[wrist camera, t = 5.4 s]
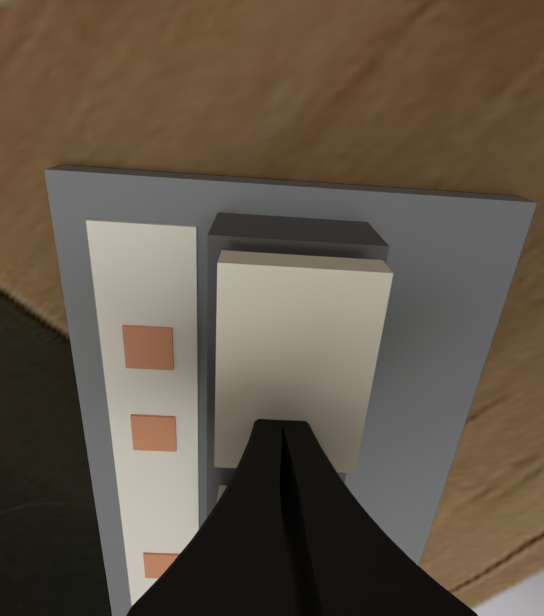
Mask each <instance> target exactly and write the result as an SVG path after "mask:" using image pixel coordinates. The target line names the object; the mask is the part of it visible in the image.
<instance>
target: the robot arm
mask: <svg viewBox="0 0 544 616" xmlns="http://www.w3.org/2000/svg"><path fill="white" fill-rule="evenodd" d="M126 616H478V615H477V614H476V613H475V612H474V611H473V610H471V609H470V608H469V607H468V606H466V605H465V604H464V603H463V602H461V601H460V600H459V599H457V598H456V597H455V596H454V595H452V594H451V593H450V592H449V591H447V590H446V589H445V588H444V587H442V586H441V585H440V584H438V583H437V582H436V581H435V580H434V579H433V578H431V577H430V576H429V575H428V574H427V573H426V572H425V571H424V570H422V569H421V568H420V567H419V566H418V565H417V564H416V563H415V562H414V561H413V560H411V559H410V558H409V557H408V556H407V555H406V554H405V553H404V552H403V551H402V550H401V549H400V548H399V547H398V546H397V545H396V544H395V543H394V542H393V541H392V540H391V539H390V538H389V537H388V536H387V535H386V533H385V532H384V531H383V530H382V529H381V528H380V527H379V526H378V525H377V523H376V522H375V521H374V520H373V519H372V518H371V517H370V515H369V514H368V513H367V512H366V511H365V509H364V508H363V507H362V506H361V505H360V503H359V502H358V501H357V499H356V498H355V497H354V496H353V494H352V493H351V492H350V490H349V489H348V487H347V486H346V485H345V483H344V482H343V480H342V479H341V478H340V476H339V475H338V473H337V472H336V470H335V469H334V467H333V465H332V464H331V462H330V461H329V459H328V457H327V456H326V454H325V452H324V451H323V449H322V447H321V446H320V444H319V442H318V440H317V438H316V437H315V435H314V433H313V431H312V429H311V427H310V425H309V424H308V423H307V422H306V421H294V420H270V419H258V420H256V421H255V422H254V425H253V429H252V432H251V435H250V438H249V441H248V443H247V445H246V448H245V450H244V453H243V455H242V457H241V460H240V462H239V464H238V466H237V468H236V470H235V472H234V474H233V476H232V478H231V480H230V481H229V483H228V485H227V487H226V489H225V490H224V492H223V494H222V496H221V497H220V499H219V500H218V502H217V504H216V505H215V507H214V508H213V510H212V511H211V513H210V514H209V516H208V517H207V519H206V520H205V522H204V523H203V524H202V526H201V527H200V529H199V530H198V531H197V533H196V534H195V536H194V537H193V538H192V539H191V541H190V542H189V543H188V545H187V546H186V547H185V548H184V549H183V551H182V552H181V553H180V554H179V555H178V557H177V558H176V559H175V560H174V561H173V563H172V564H171V565H170V566H169V567H168V569H167V570H166V571H165V572H164V573H163V574H162V575H161V576H160V578H159V579H158V580H157V581H156V582H155V583H154V584H153V585H152V586H151V587H150V588H149V589H148V590H147V591H146V592H145V593H144V594H143V595H142V596H141V597H140V598H139V599H138V600H137V601H136V603H135V604H134V605H133V606H132V607H131V608H130V610H129V612H128V614H127V615H126Z"/></svg>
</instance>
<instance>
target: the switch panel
mask: <svg viewBox="0 0 544 616" xmlns="http://www.w3.org/2000/svg"><path fill="white" fill-rule="evenodd" d="M44 172H45V179H46V185H47V192H48V198H49V205H50V211H51V218H52V224H53V231H54V238H55V244H56V251H57V257H58V264H59V270H60V277H61V283H62V290H63V296H64V303H65V309H66V316H67V323H68V329H69V336H70V342H71V349H72V355H73V362H74V368H75V375H76V381H77V388H78V395H79V401H80V408H81V414H82V421H83V427H84V434H85V440H86V447H87V453H88V460H89V466H90V473H91V480H92V486H93V493H94V499H95V506H96V512H97V519H98V525H99V532H100V538H101V545H102V552H103V558H104V565H105V571H106V578H107V584H108V591H109V597H110V604H111V610H112V616H126V615H127V614H128V612H129V610H130V608H131V607H132V606H133V605H134V604H135V603H136V601H137V600H138V599H139V598H140V597H141V596H142V595H143V594H144V593H145V592H146V591H147V590H148V589H149V588H150V587H151V586H152V585H153V584H154V583H155V582H156V581H157V580H158V579H159V578H160V576H161V575H162V574H163V573H164V572H165V571H166V570H167V569H168V567H169V566H170V565H171V564H172V563H173V561H174V560H175V559H176V558H177V557H178V555H179V554H180V553H181V552H182V551H183V549H184V548H185V547H186V546H187V545H188V543H189V542H190V541H191V539H192V538H193V537H194V536H195V534H196V533H197V531H198V530H199V529H200V527H201V526H202V524H203V523H204V522H205V520H206V519H207V517H208V516H209V514H210V513H211V511H212V510H213V508H214V507H215V505H216V503H217V497H218V490H219V485H224V486H227V485H228V483H229V481H230V480H231V478H232V476H233V474H234V472H235V470H236V468H222V467H214V437H215V375H216V312H217V262H218V259H219V256H220V253H221V250H226V251H242V252H258V253H275V254H291V255H307V256H324V257H340V258H356V259H373V260H383V261H384V263H385V264H386V265H387V266H388V267H389V269H390V270H391V271H392V272H393V278H392V283H391V289H390V294H389V299H388V304H387V310H386V315H385V320H384V325H383V330H382V336H381V341H380V346H379V351H378V357H377V362H376V367H375V372H374V377H373V383H372V388H371V393H370V398H369V404H368V409H367V414H366V419H365V424H364V430H363V435H362V440H361V445H360V450H359V456H358V461H357V466H356V471H355V473H342V472H337V473H338V475H339V476H340V478H341V479H342V480H343V482H344V483H345V485H346V486H347V487H348V489H349V490H350V492H351V493H352V494H353V496H354V497H355V498H356V499H357V501H358V502H359V503H360V505H361V506H362V507H363V508H364V509H365V511H366V512H367V513H368V514H369V515H370V517H371V518H372V519H373V520H374V521H375V522H376V523H377V525H378V526H379V527H380V528H381V529H382V530H383V531H384V532H385V533H386V535H387V536H388V537H389V538H390V539H391V540H392V541H393V542H394V543H395V544H396V545H397V546H398V547H399V548H400V549H401V550H402V551H403V552H404V553H405V554H406V555H407V556H408V557H409V558H410V559H411V560H413V561H414V562H415V563H416V564H417V565H419V562H420V559H421V556H422V553H423V550H424V547H425V544H426V541H427V538H428V535H429V532H430V529H431V526H432V522H433V519H434V516H435V513H436V510H437V507H438V504H439V501H440V498H441V495H442V492H443V489H444V486H445V483H446V480H447V477H448V474H449V471H450V468H451V464H452V461H453V458H454V455H455V452H456V449H457V446H458V443H459V440H460V437H461V434H462V431H463V428H464V425H465V422H466V419H467V416H468V413H469V410H470V407H471V403H472V400H473V397H474V394H475V391H476V388H477V385H478V382H479V379H480V376H481V373H482V370H483V367H484V364H485V361H486V358H487V355H488V352H489V349H490V345H491V342H492V339H493V336H494V333H495V330H496V327H497V324H498V321H499V318H500V315H501V312H502V309H503V306H504V303H505V300H506V297H507V294H508V291H509V288H510V284H511V281H512V278H513V275H514V272H515V269H516V266H517V263H518V260H519V257H520V254H521V251H522V248H523V245H524V242H525V239H526V236H527V233H528V230H529V226H530V223H531V220H532V217H533V214H534V211H535V208H536V205H537V202H534V201H531V200H528V199H525V198H522V197H520V196H512V195H497V194H482V193H468V192H453V191H438V190H424V189H409V188H394V187H379V186H365V185H350V184H335V183H321V182H306V181H291V180H276V179H262V178H247V177H232V176H217V175H203V174H188V173H173V172H159V171H144V170H129V169H114V168H100V167H85V166H70V165H58V166H55V167H51V168H47V169H44Z"/></svg>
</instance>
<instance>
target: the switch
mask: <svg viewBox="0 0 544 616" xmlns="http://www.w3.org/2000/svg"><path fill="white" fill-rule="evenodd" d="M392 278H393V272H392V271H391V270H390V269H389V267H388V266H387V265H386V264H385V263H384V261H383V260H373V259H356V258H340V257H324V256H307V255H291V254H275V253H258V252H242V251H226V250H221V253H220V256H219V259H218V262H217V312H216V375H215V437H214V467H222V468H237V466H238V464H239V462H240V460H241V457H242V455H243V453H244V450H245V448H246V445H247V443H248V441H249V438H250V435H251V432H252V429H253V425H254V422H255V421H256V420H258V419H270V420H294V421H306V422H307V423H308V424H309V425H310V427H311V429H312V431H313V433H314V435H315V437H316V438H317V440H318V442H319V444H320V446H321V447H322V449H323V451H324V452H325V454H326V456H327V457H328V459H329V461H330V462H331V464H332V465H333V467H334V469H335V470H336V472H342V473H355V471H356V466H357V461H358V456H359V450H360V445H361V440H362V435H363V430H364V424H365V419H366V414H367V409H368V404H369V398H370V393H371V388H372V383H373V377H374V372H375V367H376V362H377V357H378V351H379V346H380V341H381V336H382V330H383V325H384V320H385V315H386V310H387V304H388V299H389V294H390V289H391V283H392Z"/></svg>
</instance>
